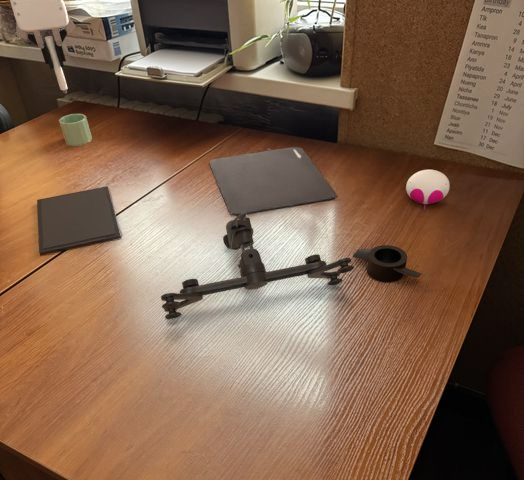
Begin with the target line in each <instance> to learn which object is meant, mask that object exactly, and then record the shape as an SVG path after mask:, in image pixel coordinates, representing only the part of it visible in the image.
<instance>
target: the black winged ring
mask: <svg viewBox="0 0 524 480" xmlns="http://www.w3.org/2000/svg"><path fill="white" fill-rule="evenodd" d="M352 258H354V259H359V260H362V261H364V262H366V263H367V265H366V273H367V275H368V277H370V278H371V279H372V280H374V281H376V282H380V283H389V284H390V283H394V282H398V281H400V280H401V279H403V278H404V276H408V277H411V278H416V279H418V278H420V277H421V276H422V273H421V272H418V271H415V270H413V269H410V268H408V267H407V261H408V254H407V252H406V251H405V250H404V249H402V248H400V247H398V246H396V245H395V246H394V245H391V244H390V245H389V244H388V245H387V244H382V245H378V246H375V247H370V248H362V249H361V248H360V249H357V250H356V251H355V252H354V253H353V255H352Z"/></svg>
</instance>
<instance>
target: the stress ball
mask: <svg viewBox="0 0 524 480" xmlns="http://www.w3.org/2000/svg"><path fill="white" fill-rule="evenodd" d="M450 187H451V186H450V180H449V178H448V177H447V176H446V175H445V174H444V173H443V172H441V171H438V170H436V169H435V170H434V169H422V170H419V171H417V172H415V173H414V174H412V175H411V176H410V177H409V178H408V180H407V182H406V186H405V191H406V193H407V196H408V197H409V198H410V199H411V200H413V201H414V202H416V203H418V204H422V205H423V210H425V209H426V205H432V204H436V203H438V202H440V201H442V200H443V199H444V198H445V197H447V196H448V194H449V191H450V189H451V188H450Z"/></svg>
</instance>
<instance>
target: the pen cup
mask: <svg viewBox="0 0 524 480" xmlns="http://www.w3.org/2000/svg"><path fill="white" fill-rule="evenodd" d="M58 124H59V127H60V129H61V133H62V136H63V139H64V142H65V144H66V145H67V146H71V147H77V146H79V147H80V146H82V145H83V146H84V145H86V144H88V143H91V141H92V140H93V135H92V133H91V129H90V126H89V122H88V119H87V116H86V115H85V114H83V113H71V114H67V115H64V116H61V117H60V118H59V119H58Z"/></svg>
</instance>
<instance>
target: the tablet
mask: <svg viewBox="0 0 524 480" xmlns="http://www.w3.org/2000/svg"><path fill="white" fill-rule="evenodd" d="M36 211H37V233H38V235H37V236H38V237H37V238H38V254H39V256H40V257H42V256H47V255H51V254H55V253H59V252H60V253H61V252H65V251H69V250H74V249H78V248H82V247H83V248H84V247H88V246H93V245H97V244H98V245H99V244H102V243H107V242H111V241H116V240H120V239H122V234H121V230H120V226H119V223H118V219H117V215H116V211H115V207H114V204H113V199H112V196H111V193H110V188H109V186H107V185H105V186H101V187H96V188H91V189H86V190H81V191H75V192H71V193H65V194H64V193H63V194H60V195H55V196H50V197H43V198H39V199H36Z"/></svg>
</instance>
